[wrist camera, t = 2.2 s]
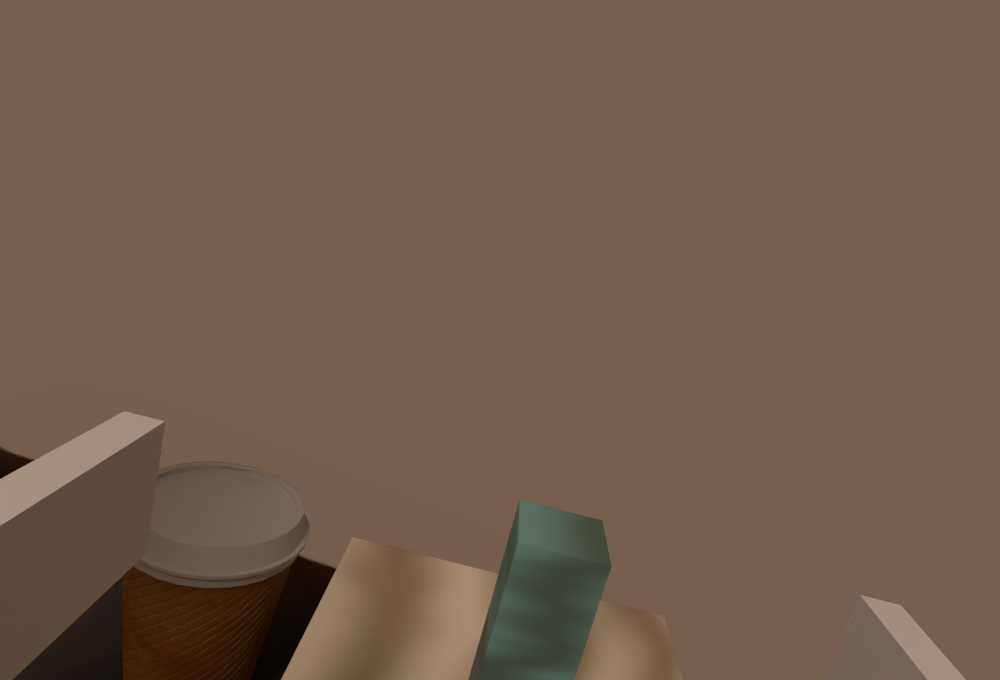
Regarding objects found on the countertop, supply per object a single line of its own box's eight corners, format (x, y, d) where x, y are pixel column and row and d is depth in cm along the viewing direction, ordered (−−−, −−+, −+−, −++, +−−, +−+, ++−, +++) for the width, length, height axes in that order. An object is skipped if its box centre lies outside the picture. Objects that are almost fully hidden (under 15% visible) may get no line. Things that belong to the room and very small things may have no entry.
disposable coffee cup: (308, 681, 42) (348, 503, 40) (186, 798, 34) (226, 578, 31) (186, 613, 45) (215, 442, 42) (44, 704, 36) (69, 496, 34)
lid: (252, 747, 27) (303, 498, 25) (349, 548, 42) (388, 379, 39) (726, 866, 28) (825, 631, 25) (659, 627, 42) (717, 464, 40)
